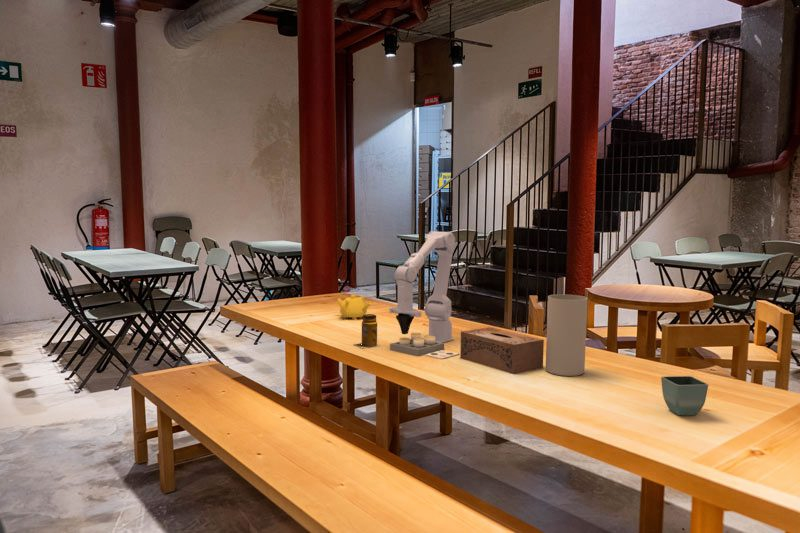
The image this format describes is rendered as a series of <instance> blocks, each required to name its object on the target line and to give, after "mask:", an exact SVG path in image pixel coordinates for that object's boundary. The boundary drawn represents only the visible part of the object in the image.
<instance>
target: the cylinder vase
mask: <svg viewBox="0 0 800 533" xmlns="http://www.w3.org/2000/svg"><path fill="white" fill-rule="evenodd" d="M546 315H547V320H546V347H545V350H546V351H545V371H547V373H549V374H552V375H556V376H561V377H576V376H578V377H579V376H582V375H583V374H585V368H586V367H585V366H586V346H587V344H586V343H587V342H586V340H587V321H588V320H587V319H588V316H587V315H588V297H586V296H583V295H576V294H550V295H548V296H547V314H546ZM581 374H582V375H581Z"/></svg>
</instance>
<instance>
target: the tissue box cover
mask: <svg viewBox="0 0 800 533" xmlns="http://www.w3.org/2000/svg"><path fill="white" fill-rule="evenodd" d="M544 342H545V340H544V339H543V338H538V337H536V336H535V337H534V336H530V335H525V334H521V333H517V332H512V331H508V330H504V329H499V328H496V327H491V326H488V327H483V328H476V329H469V330H468V329H467V330H463V331H460V348H459V350H460V352H459V355H460V356H459V359H463V360H465V361H468V362H471V363H475V364H479V365H482V366H485V367H488V368H491V369H496V370H499V371H502V372H504V373H505V372H506V373H508V374H512V375H515V374H521V373H525V372H529V371H535V370H538V369H543V368H544V349H545V347H544V344H545V343H544Z"/></svg>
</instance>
